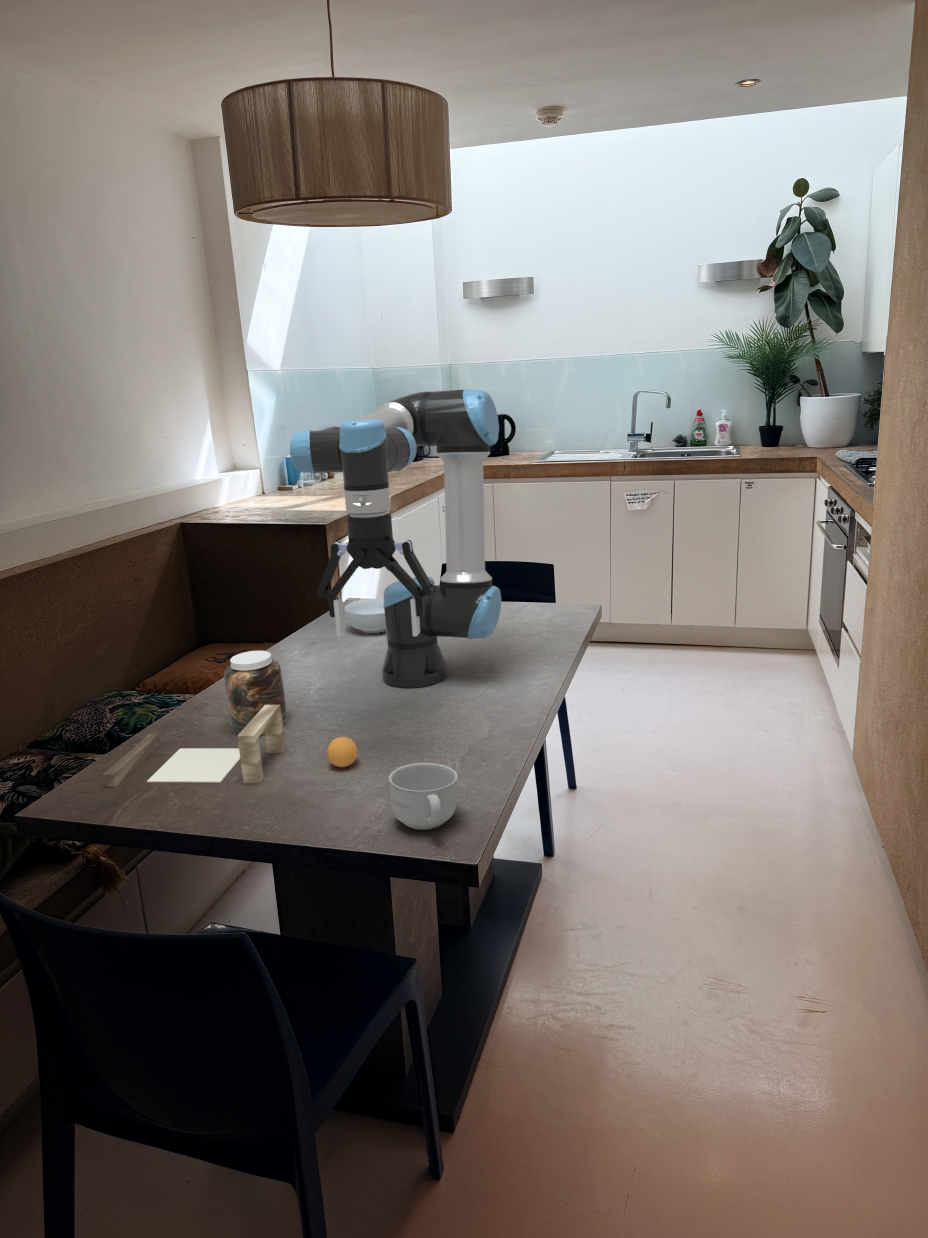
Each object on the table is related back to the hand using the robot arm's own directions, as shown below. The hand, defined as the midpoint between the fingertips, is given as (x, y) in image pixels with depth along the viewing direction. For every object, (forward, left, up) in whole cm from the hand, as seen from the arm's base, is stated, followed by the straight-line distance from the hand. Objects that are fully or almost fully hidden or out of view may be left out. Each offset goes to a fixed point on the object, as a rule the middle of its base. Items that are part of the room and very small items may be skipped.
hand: (378, 634), depth 152 cm
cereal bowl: (+22, -86, -25) cm, 92 cm away
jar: (+32, -19, -25) cm, 45 cm away
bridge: (+24, 0, -25) cm, 34 cm away
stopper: (+50, 0, -25) cm, 56 cm away
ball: (+9, 0, -22) cm, 24 cm away
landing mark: (+37, 0, -25) cm, 44 cm away
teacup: (-10, +21, -25) cm, 35 cm away
